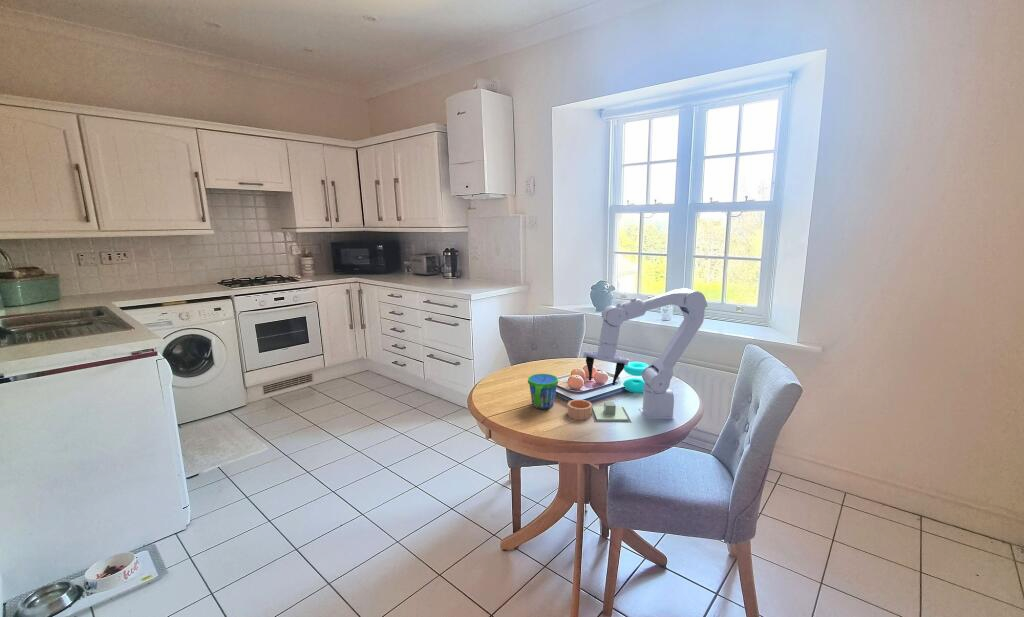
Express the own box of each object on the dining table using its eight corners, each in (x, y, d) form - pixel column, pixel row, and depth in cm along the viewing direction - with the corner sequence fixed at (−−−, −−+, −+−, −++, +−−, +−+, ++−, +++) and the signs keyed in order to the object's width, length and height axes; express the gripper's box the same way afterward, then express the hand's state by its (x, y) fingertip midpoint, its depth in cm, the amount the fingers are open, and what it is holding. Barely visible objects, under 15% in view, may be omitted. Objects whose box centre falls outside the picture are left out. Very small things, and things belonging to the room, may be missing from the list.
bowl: (589, 410, 150) (590, 399, 149) (593, 420, 142) (593, 409, 141) (566, 410, 150) (566, 399, 149) (568, 420, 142) (569, 409, 141)
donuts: (621, 360, 172) (646, 360, 172) (620, 384, 174) (645, 384, 174) (627, 368, 162) (654, 368, 162) (626, 394, 164) (652, 394, 164)
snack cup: (549, 417, 145) (549, 388, 143) (520, 411, 149) (520, 383, 147) (563, 400, 159) (564, 373, 157) (537, 395, 163) (537, 369, 161)
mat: (623, 408, 151) (623, 407, 151) (631, 423, 140) (631, 422, 140) (588, 408, 152) (588, 406, 152) (594, 423, 140) (594, 422, 140)
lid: (621, 408, 150) (621, 397, 150) (627, 420, 141) (628, 409, 140) (592, 408, 151) (592, 397, 150) (597, 420, 141) (597, 409, 140)
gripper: (584, 341, 139) (578, 381, 141) (631, 349, 136) (624, 390, 138) (586, 336, 146) (580, 374, 148) (631, 344, 142) (624, 383, 145)
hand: (601, 381), depth 144 cm, fingers open, 7 cm apart
